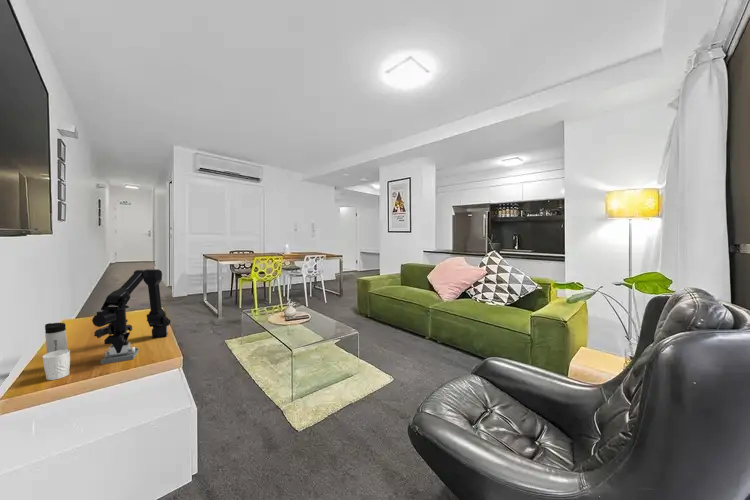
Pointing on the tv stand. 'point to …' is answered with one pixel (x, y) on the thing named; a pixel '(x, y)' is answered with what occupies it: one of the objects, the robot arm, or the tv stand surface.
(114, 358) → the tray
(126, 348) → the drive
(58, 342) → the travel mug
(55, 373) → the white cup
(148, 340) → the tv stand surface
